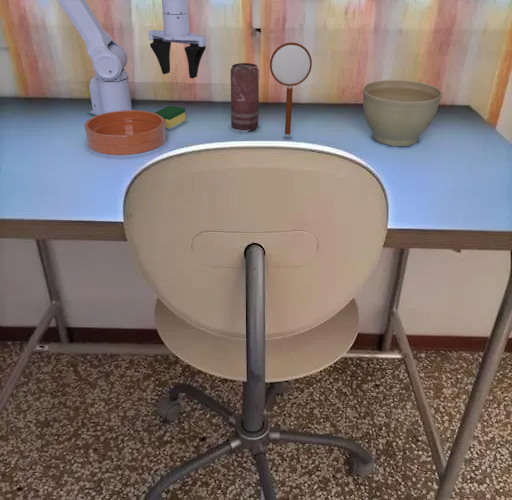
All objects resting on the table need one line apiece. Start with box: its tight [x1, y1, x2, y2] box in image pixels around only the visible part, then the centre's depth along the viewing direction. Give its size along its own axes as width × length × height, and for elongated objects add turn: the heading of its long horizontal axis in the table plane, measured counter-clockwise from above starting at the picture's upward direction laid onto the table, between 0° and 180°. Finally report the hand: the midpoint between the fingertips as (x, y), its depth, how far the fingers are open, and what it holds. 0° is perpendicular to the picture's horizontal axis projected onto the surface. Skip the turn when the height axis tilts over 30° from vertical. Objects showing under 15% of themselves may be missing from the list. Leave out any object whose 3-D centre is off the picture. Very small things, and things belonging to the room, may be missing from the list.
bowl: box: [83, 109, 167, 156], centre depth 114 cm, size 16×16×4 cm
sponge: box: [154, 104, 187, 129], centre depth 125 cm, size 6×4×3 cm, turn 153°
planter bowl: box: [362, 79, 443, 147], centre depth 116 cm, size 16×16×11 cm
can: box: [230, 62, 260, 133], centre depth 120 cm, size 6×6×14 cm
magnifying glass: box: [269, 42, 313, 139], centre depth 114 cm, size 9×2×20 cm, turn 92°
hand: (179, 75), depth 127 cm, fingers open, 7 cm apart
